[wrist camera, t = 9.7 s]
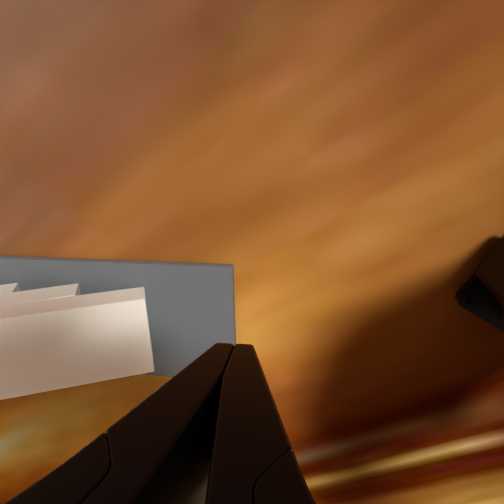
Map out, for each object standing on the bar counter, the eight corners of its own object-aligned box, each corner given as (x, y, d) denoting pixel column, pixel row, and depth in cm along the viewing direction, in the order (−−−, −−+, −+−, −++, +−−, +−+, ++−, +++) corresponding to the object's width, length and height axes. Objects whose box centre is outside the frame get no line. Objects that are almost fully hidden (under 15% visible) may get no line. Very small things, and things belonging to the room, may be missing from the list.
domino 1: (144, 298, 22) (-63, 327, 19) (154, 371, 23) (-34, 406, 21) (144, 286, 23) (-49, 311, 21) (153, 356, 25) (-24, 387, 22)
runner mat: (232, 264, 22) (231, 267, 22) (237, 377, 25) (236, 381, 25) (-129, 251, 25) (-135, 253, 25) (-88, 353, 28) (-93, 356, 28)
